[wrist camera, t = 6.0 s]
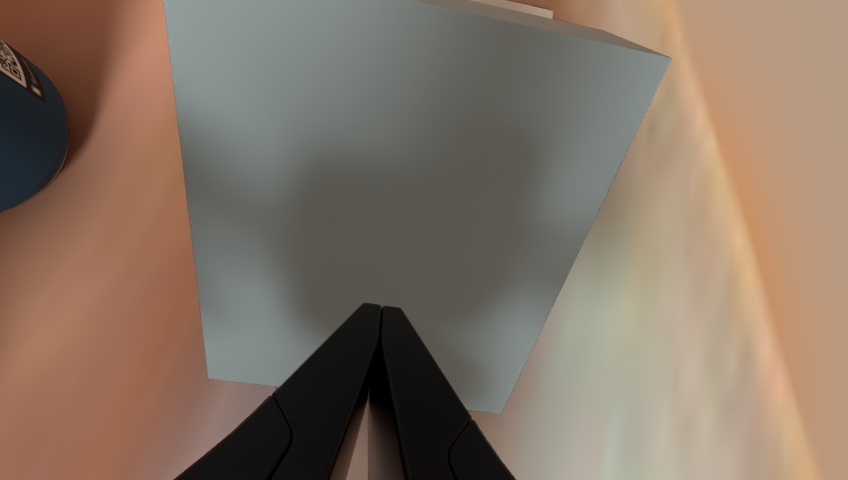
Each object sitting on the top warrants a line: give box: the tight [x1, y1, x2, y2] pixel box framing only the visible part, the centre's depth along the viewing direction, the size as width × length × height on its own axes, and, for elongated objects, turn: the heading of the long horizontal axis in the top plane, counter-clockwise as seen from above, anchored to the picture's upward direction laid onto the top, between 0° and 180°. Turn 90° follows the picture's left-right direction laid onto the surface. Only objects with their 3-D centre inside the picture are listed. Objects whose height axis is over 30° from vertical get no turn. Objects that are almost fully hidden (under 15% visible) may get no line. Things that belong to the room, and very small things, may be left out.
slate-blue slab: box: [163, 0, 672, 414], centre depth 13 cm, size 4×10×12 cm
